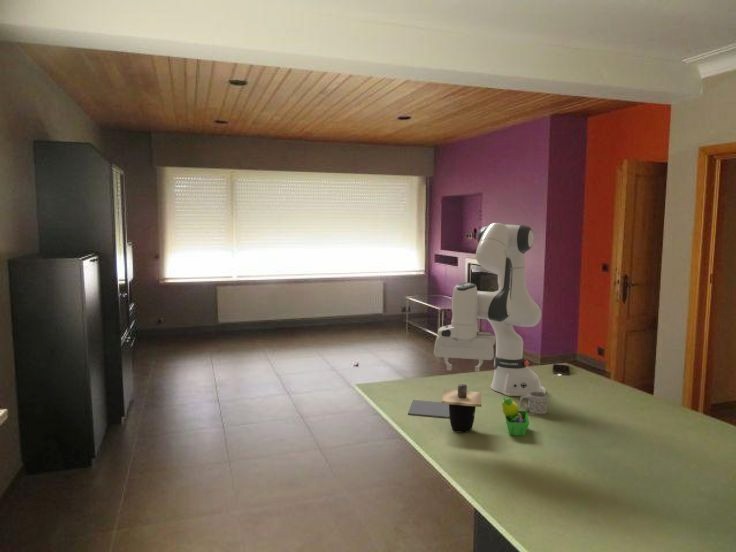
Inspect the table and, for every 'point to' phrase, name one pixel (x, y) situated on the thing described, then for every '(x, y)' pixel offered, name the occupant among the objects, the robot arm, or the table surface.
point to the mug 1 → (461, 417)
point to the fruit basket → (515, 418)
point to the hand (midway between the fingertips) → (463, 370)
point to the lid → (462, 397)
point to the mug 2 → (535, 402)
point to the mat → (429, 409)
